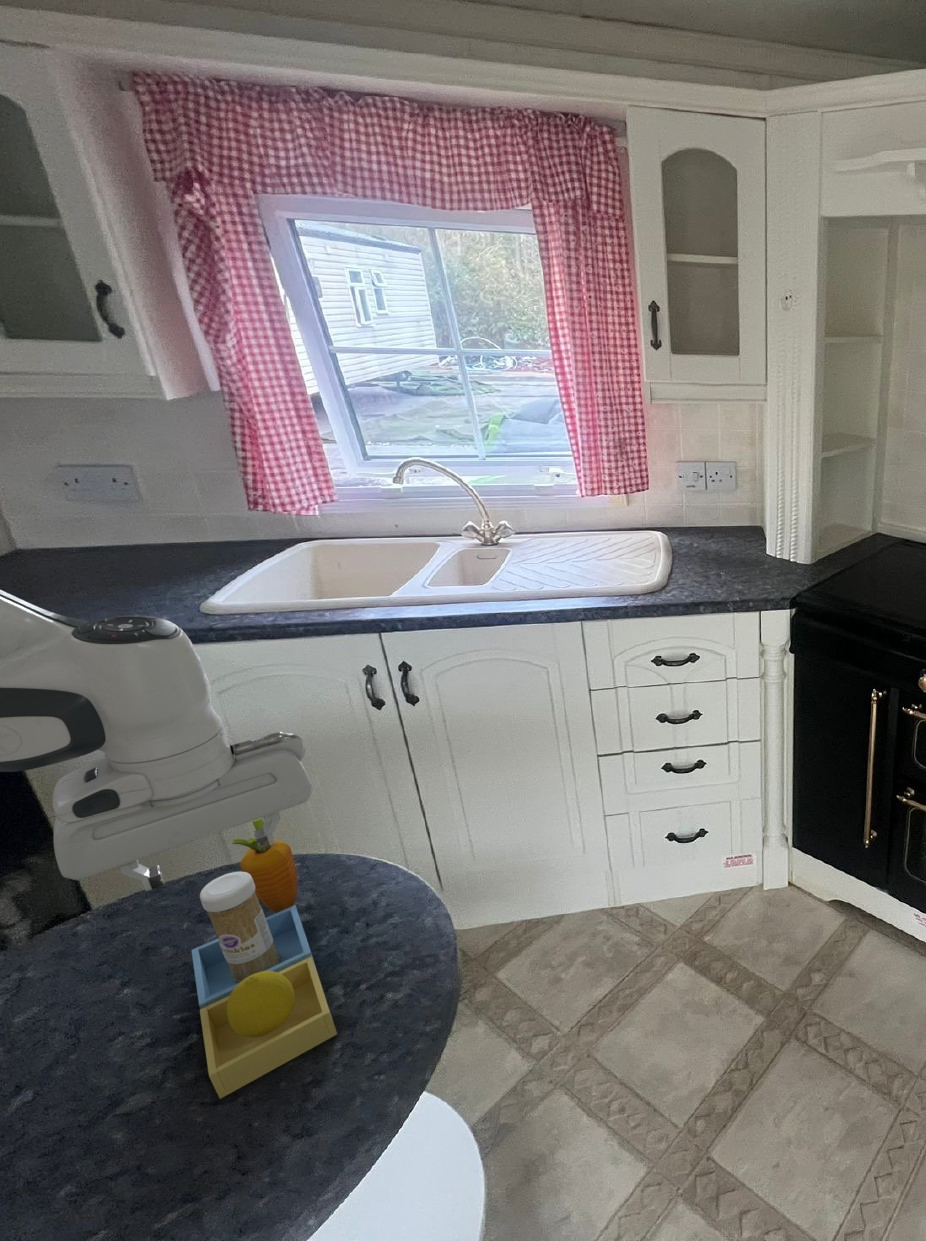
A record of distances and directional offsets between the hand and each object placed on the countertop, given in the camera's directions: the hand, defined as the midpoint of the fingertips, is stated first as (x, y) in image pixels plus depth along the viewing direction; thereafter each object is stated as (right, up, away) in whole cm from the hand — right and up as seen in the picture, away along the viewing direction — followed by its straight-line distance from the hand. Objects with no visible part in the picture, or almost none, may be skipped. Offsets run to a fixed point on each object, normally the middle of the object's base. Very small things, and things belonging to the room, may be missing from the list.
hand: (213, 863), depth 78 cm
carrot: (-4, -13, +14) cm, 20 cm away
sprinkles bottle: (0, -16, +6) cm, 17 cm away
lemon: (+7, -19, -1) cm, 20 cm away
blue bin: (0, -16, +6) cm, 17 cm away
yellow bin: (+7, -19, 0) cm, 20 cm away
